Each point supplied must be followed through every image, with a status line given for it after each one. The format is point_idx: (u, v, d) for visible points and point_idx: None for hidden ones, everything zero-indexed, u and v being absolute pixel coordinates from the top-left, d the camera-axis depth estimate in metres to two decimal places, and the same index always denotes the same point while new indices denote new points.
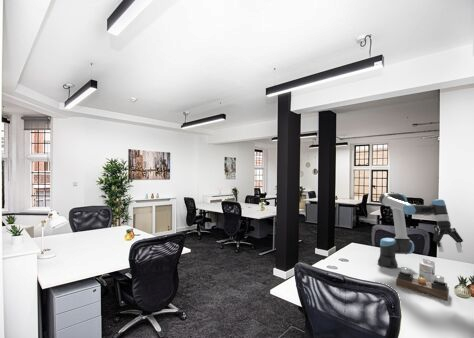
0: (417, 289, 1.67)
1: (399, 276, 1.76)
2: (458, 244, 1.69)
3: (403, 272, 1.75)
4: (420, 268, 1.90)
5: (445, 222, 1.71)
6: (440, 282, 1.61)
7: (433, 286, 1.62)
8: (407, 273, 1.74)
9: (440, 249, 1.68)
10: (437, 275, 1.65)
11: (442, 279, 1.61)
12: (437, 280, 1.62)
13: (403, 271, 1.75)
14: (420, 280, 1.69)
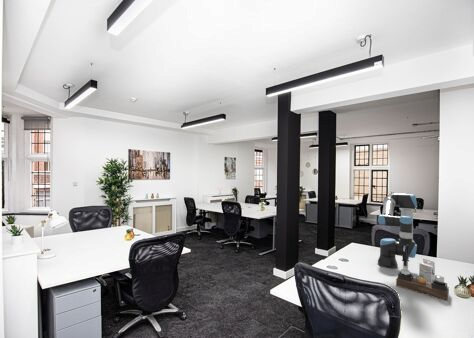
0: (417, 289, 1.67)
1: (399, 276, 1.76)
2: None
3: (403, 274, 1.75)
4: (420, 268, 1.90)
5: (410, 240, 1.73)
6: (440, 282, 1.61)
7: (433, 286, 1.62)
8: (407, 275, 1.74)
9: (405, 268, 1.76)
10: (437, 275, 1.65)
11: (442, 279, 1.61)
12: (437, 280, 1.62)
13: (403, 273, 1.75)
14: (420, 280, 1.69)
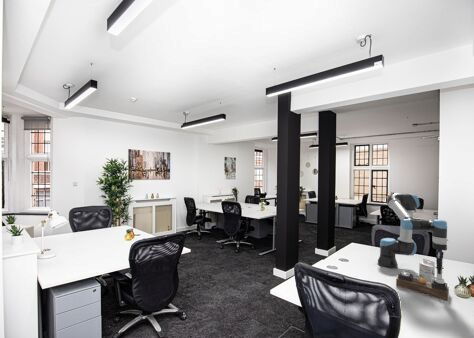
0: (417, 289, 1.67)
1: (399, 276, 1.76)
2: None
3: None
4: (420, 268, 1.90)
5: (445, 246, 1.60)
6: (440, 284, 1.61)
7: (433, 286, 1.62)
8: None
9: (439, 276, 1.63)
10: None
11: (442, 281, 1.61)
12: (437, 282, 1.62)
13: None
14: (420, 280, 1.69)
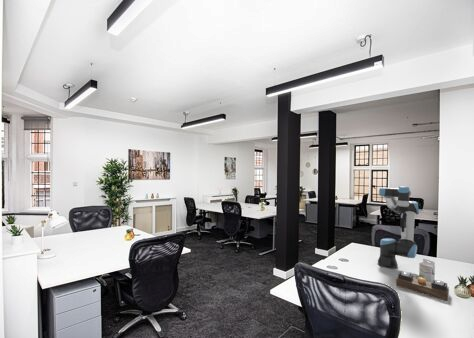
0: (417, 289, 1.67)
1: (399, 276, 1.76)
2: None
3: None
4: (420, 268, 1.90)
5: (408, 208, 1.88)
6: None
7: (433, 286, 1.62)
8: None
9: (402, 233, 1.91)
10: (437, 280, 1.65)
11: (442, 284, 1.61)
12: None
13: None
14: (420, 280, 1.69)
